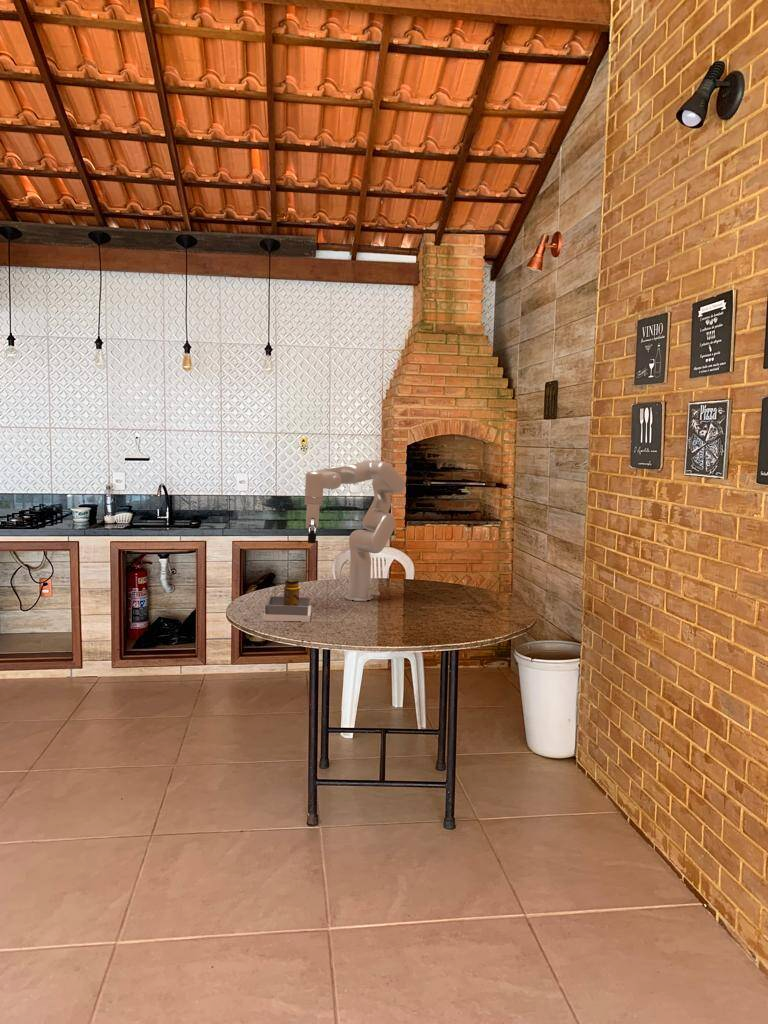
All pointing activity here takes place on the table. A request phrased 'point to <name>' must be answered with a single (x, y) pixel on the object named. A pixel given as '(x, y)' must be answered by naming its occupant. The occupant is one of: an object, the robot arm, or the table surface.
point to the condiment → (291, 593)
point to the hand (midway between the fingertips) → (312, 541)
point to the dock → (287, 610)
